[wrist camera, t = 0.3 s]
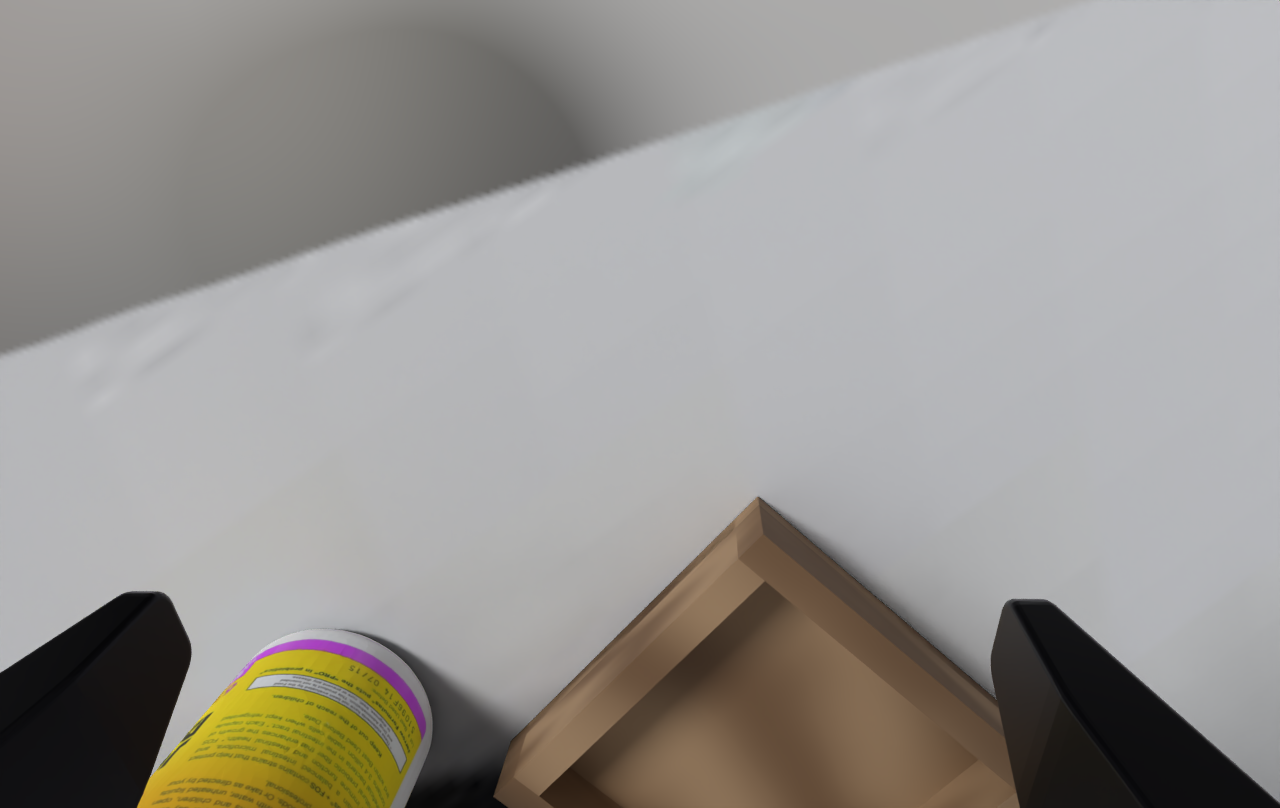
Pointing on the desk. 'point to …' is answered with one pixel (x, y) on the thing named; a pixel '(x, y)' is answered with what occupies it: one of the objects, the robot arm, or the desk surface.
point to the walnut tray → (764, 698)
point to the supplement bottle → (304, 731)
